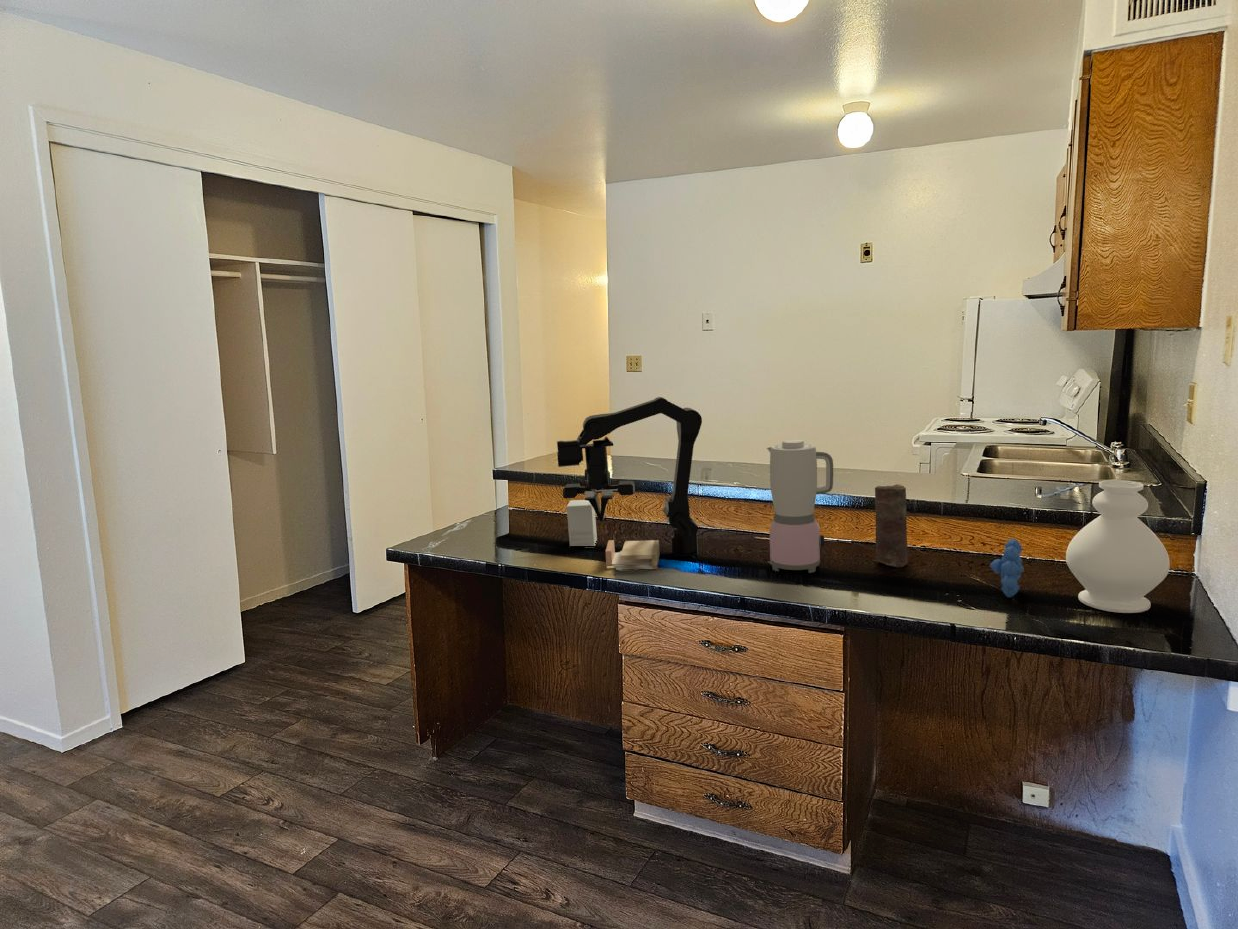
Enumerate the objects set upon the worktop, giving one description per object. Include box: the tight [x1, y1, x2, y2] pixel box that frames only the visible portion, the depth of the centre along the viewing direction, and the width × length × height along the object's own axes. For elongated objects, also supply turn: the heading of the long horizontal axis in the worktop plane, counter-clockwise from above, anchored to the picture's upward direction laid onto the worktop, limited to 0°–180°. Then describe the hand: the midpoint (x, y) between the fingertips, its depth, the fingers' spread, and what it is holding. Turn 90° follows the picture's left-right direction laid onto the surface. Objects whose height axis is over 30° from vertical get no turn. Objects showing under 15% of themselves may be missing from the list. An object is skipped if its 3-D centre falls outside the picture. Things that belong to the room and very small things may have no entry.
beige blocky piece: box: [605, 539, 652, 566], centre depth 203 cm, size 12×10×5 cm
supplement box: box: [565, 499, 598, 547], centre depth 221 cm, size 7×7×13 cm
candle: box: [874, 483, 908, 568], centre depth 188 cm, size 8×7×20 cm
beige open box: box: [615, 539, 660, 570], centre depth 202 cm, size 11×13×4 cm
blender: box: [766, 439, 834, 574], centre depth 188 cm, size 16×12×32 cm
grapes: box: [989, 538, 1025, 598], centre depth 165 cm, size 12×7×12 cm, turn 147°
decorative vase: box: [1065, 479, 1171, 614], centre depth 156 cm, size 18×18×25 cm
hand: (601, 520), depth 204 cm, fingers closed
